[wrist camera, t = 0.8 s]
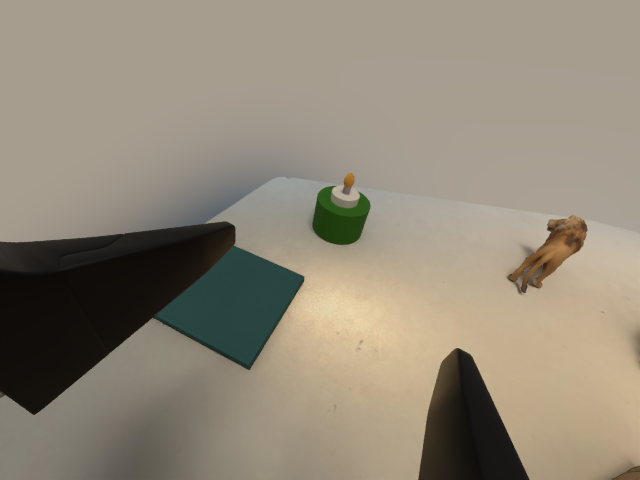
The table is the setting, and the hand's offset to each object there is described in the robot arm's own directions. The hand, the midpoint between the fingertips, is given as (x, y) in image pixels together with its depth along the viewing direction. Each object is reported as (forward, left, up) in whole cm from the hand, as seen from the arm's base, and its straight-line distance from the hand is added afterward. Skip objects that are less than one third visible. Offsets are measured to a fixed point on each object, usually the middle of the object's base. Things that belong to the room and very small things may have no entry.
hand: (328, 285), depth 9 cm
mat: (+7, +11, -18) cm, 23 cm away
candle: (+26, +5, -18) cm, 33 cm away
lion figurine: (+34, -27, -18) cm, 47 cm away
